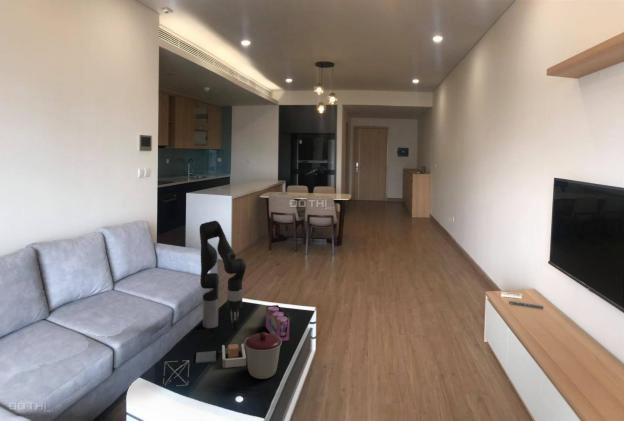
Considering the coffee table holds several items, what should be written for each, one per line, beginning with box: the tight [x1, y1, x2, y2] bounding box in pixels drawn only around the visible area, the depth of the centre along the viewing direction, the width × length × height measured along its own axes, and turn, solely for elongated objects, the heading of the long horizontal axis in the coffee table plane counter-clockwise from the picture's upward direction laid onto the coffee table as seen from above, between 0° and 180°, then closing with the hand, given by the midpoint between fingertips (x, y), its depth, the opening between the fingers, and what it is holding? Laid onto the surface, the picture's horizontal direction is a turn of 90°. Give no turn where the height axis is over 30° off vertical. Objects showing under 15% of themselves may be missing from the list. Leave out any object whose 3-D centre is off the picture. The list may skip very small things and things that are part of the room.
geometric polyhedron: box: [162, 359, 190, 387], centre depth 185 cm, size 12×11×9 cm
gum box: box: [265, 304, 290, 342], centre depth 240 cm, size 24×8×14 cm, turn 23°
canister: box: [243, 331, 283, 380], centre depth 195 cm, size 18×18×21 cm
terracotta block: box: [227, 343, 239, 359], centre depth 213 cm, size 5×5×5 cm
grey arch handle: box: [221, 343, 247, 369], centre depth 209 cm, size 16×11×4 cm
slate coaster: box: [195, 350, 217, 364], centre depth 209 cm, size 10×10×1 cm
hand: (234, 330), depth 204 cm, fingers closed
